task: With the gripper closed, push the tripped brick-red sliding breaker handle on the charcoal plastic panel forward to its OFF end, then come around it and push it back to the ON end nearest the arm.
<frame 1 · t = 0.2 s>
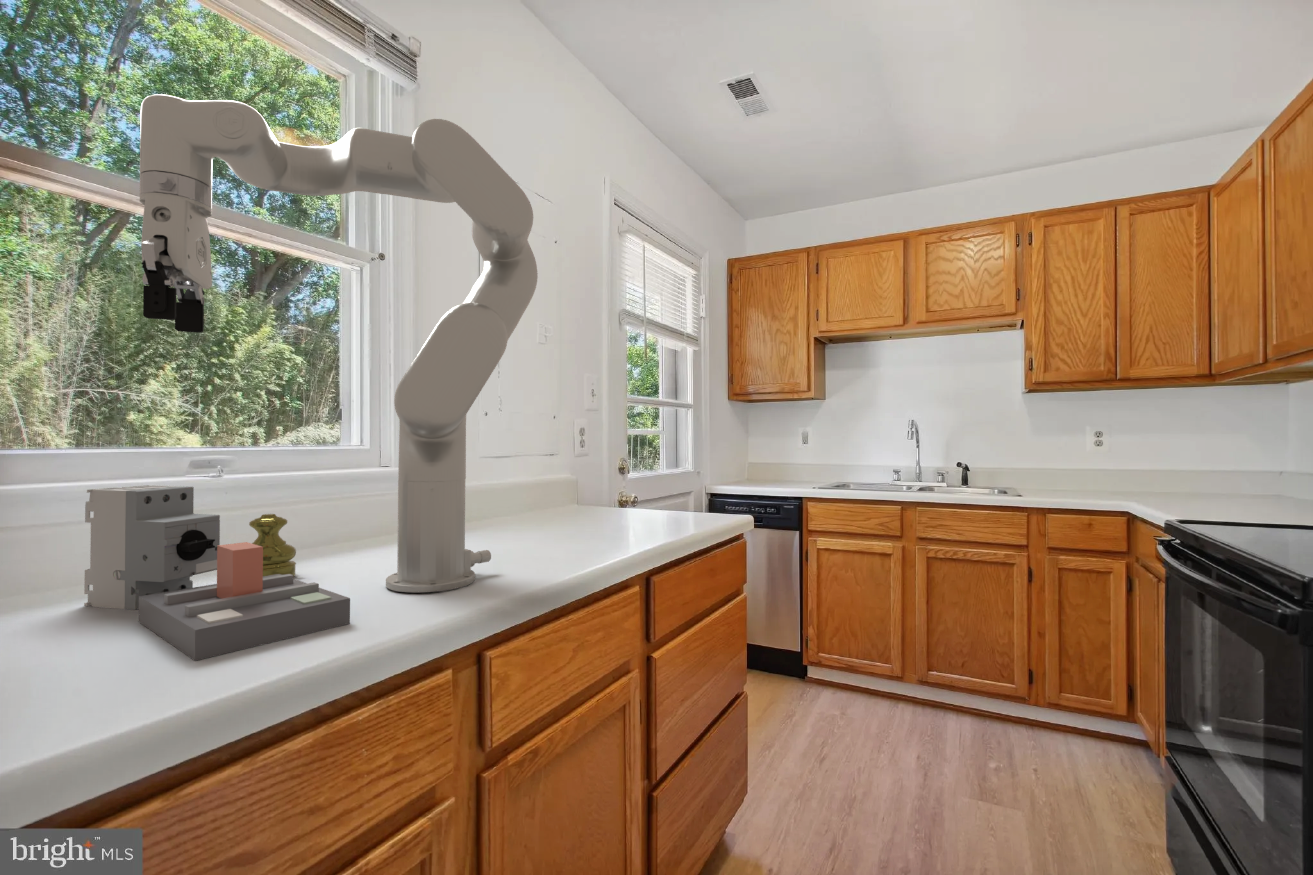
hand: (175, 325, 79), 37 cm above the worktop, tool pointing down, fingers open, 9 cm apart
brass knob: (268, 580, 92), on the worktop
breaker handle: (239, 571, 70), point 6 cm above the worktop, slide at 5.0 cm
breaker panel: (244, 622, 70), on the worktop
circuit breaker: (158, 603, 79), on the worktop
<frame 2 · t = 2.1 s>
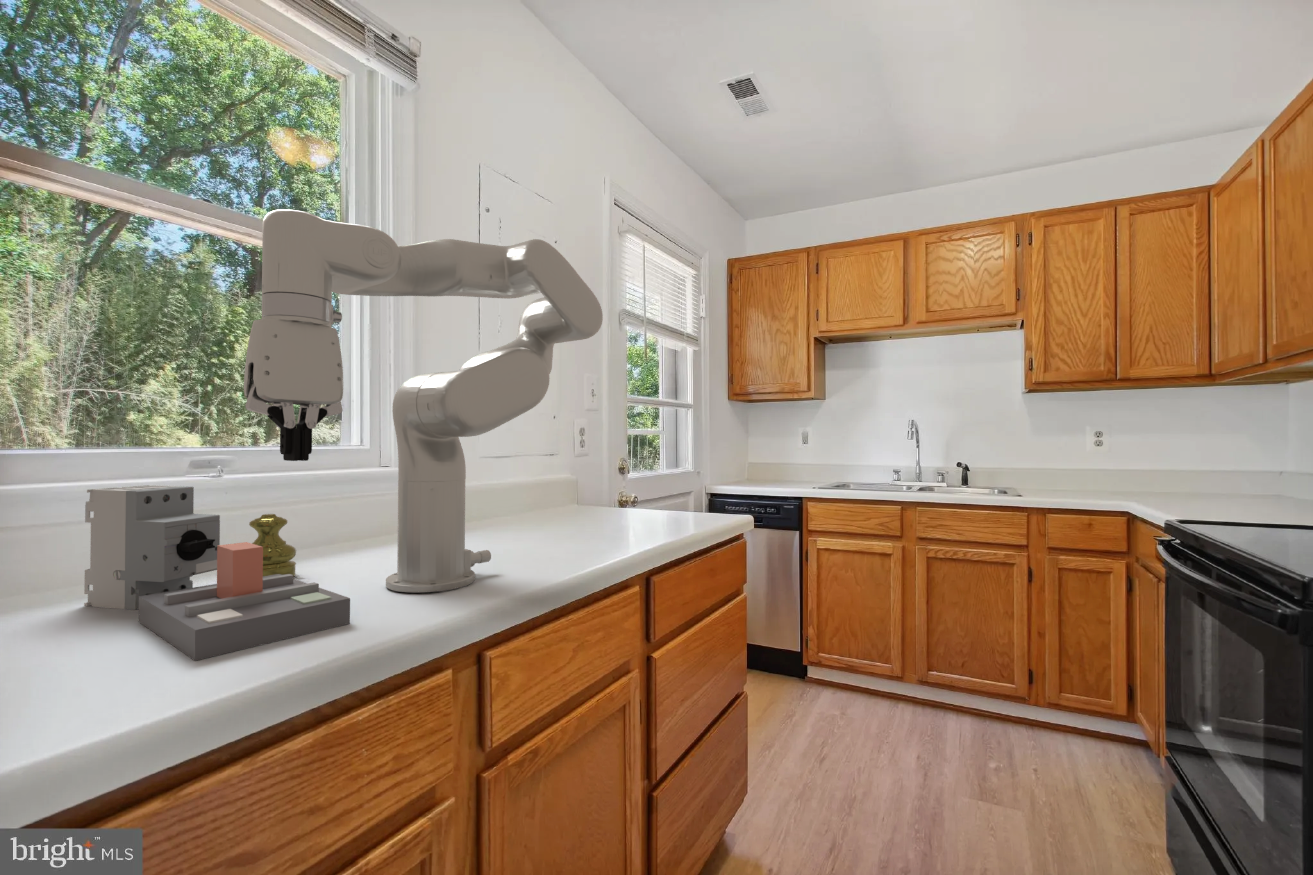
hand: (295, 460, 75), 19 cm above the worktop, tool pointing down, fingers closed
nothing on the worktop moved.
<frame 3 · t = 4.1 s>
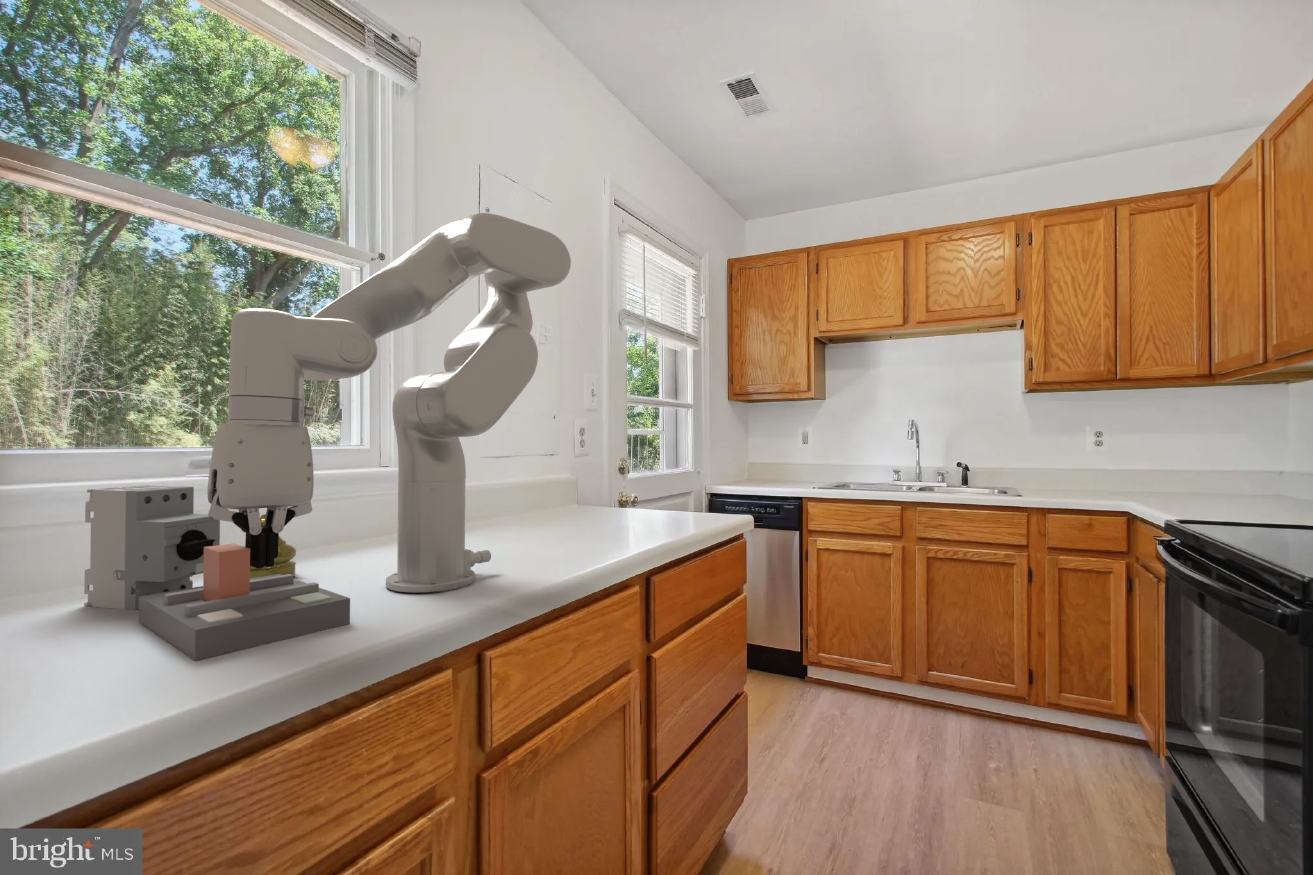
hand: (261, 565, 72), 6 cm above the worktop, tool pointing down, fingers closed
breaker handle: (226, 573, 69), point 6 cm above the worktop, slide at 6.3 cm, touching gripper
everything else where it was.
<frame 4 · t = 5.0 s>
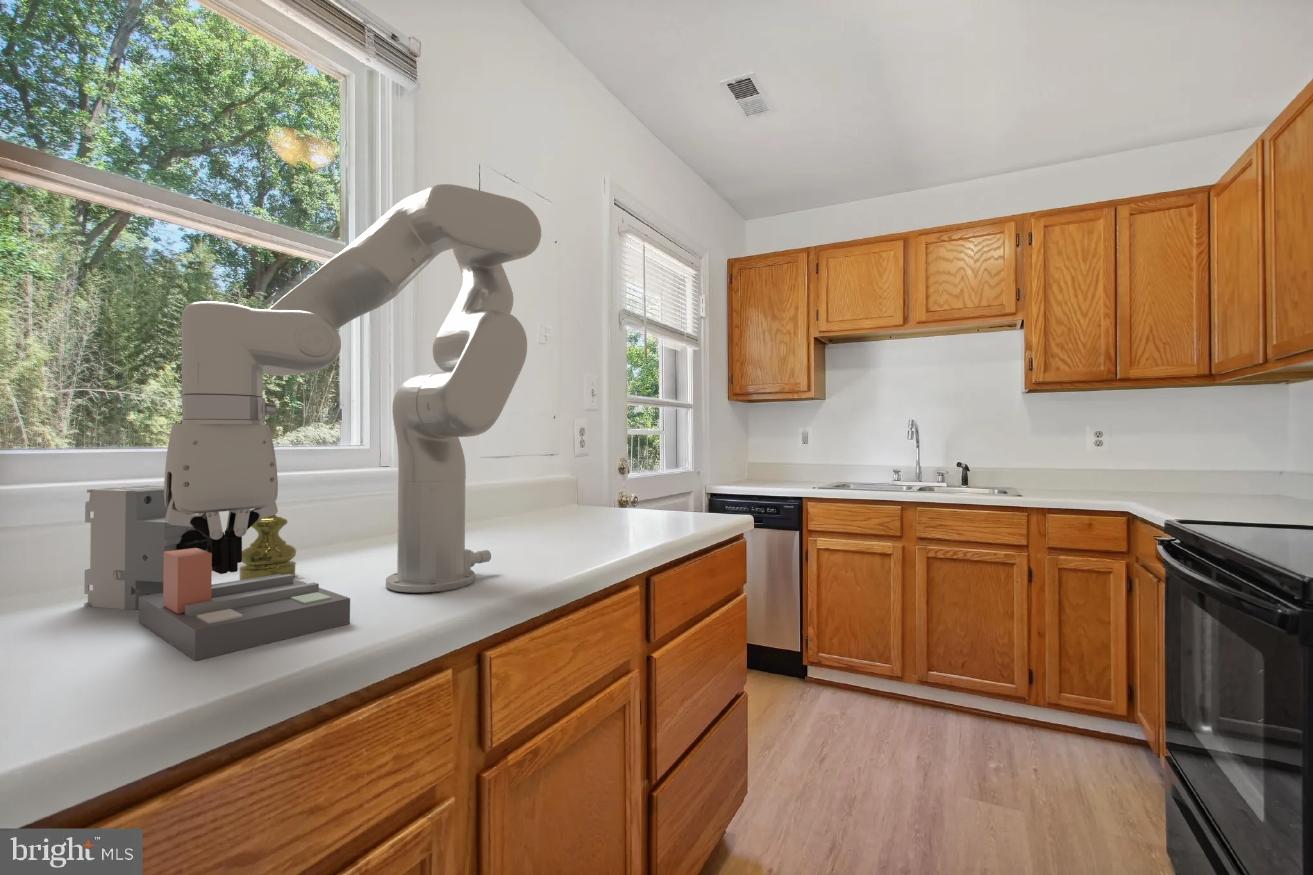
hand: (224, 570, 69), 6 cm above the worktop, tool pointing down, fingers closed
breaker handle: (187, 579, 66), point 6 cm above the worktop, slide at 10.0 cm, touching gripper
everything else where it was.
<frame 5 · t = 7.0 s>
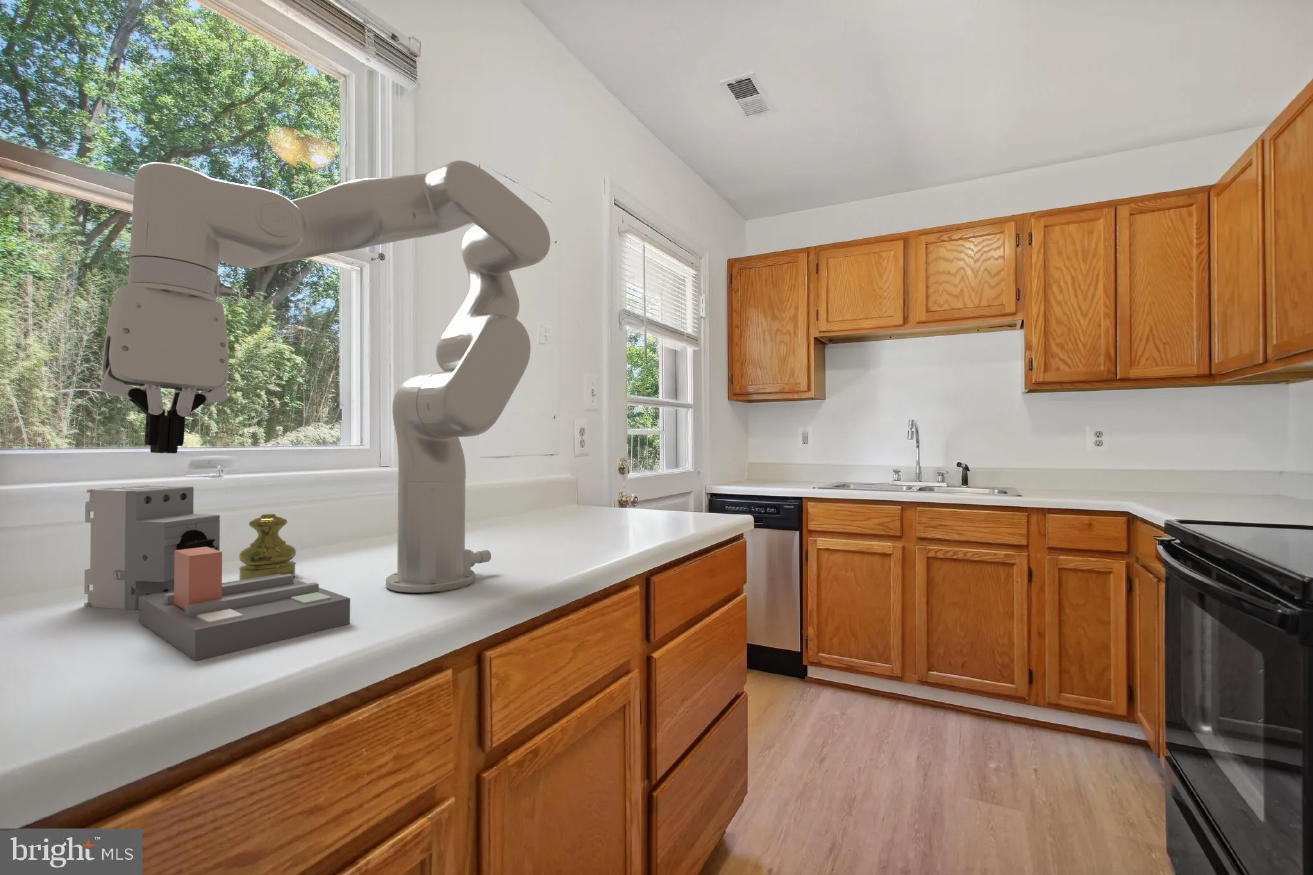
hand: (163, 452, 64), 20 cm above the worktop, tool pointing down, fingers closed
breaker handle: (197, 577, 67), point 6 cm above the worktop, slide at 9.0 cm
everything else where it was.
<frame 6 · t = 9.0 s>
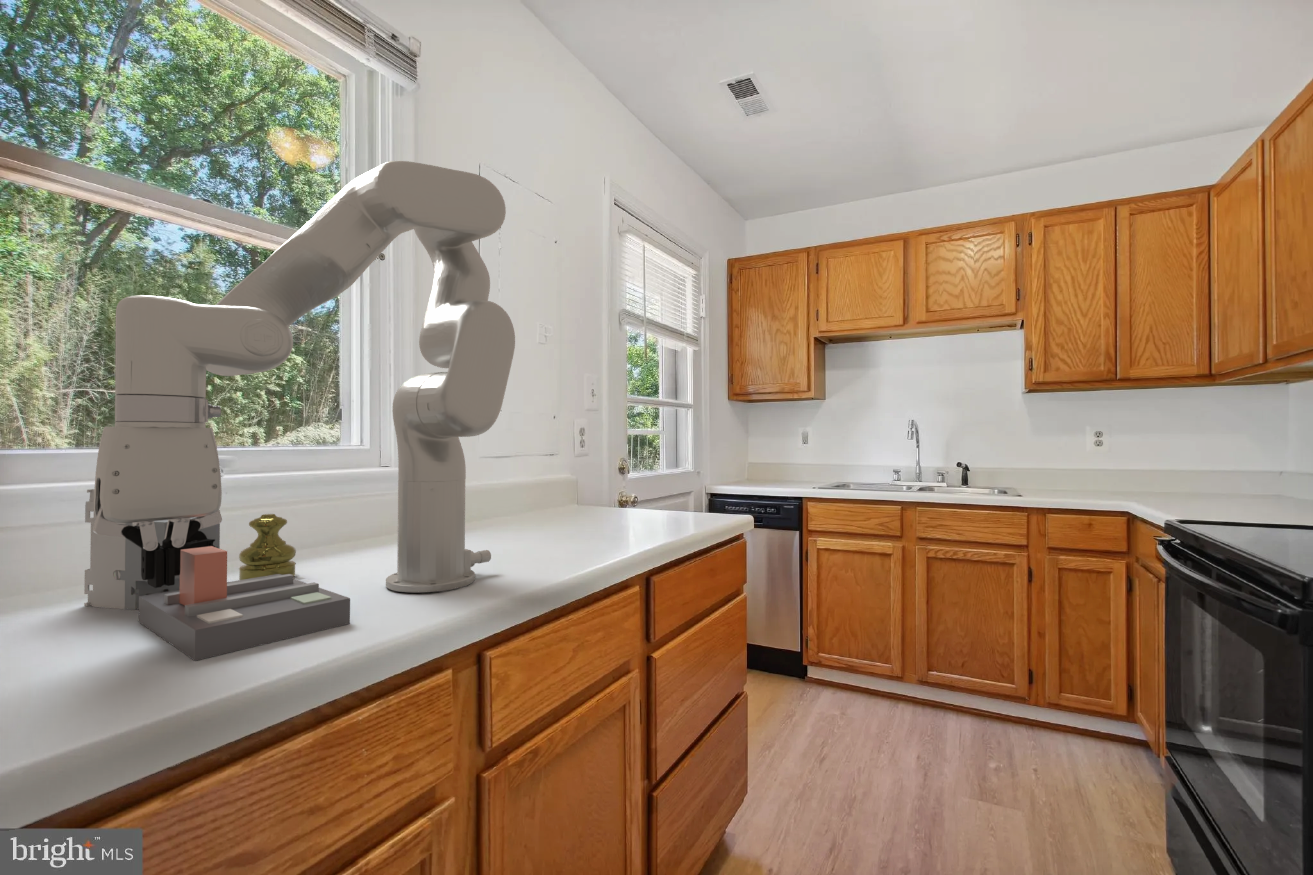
hand: (160, 584, 64), 6 cm above the worktop, tool pointing down, fingers closed
breaker handle: (203, 577, 67), point 6 cm above the worktop, slide at 8.5 cm, touching gripper
everything else where it was.
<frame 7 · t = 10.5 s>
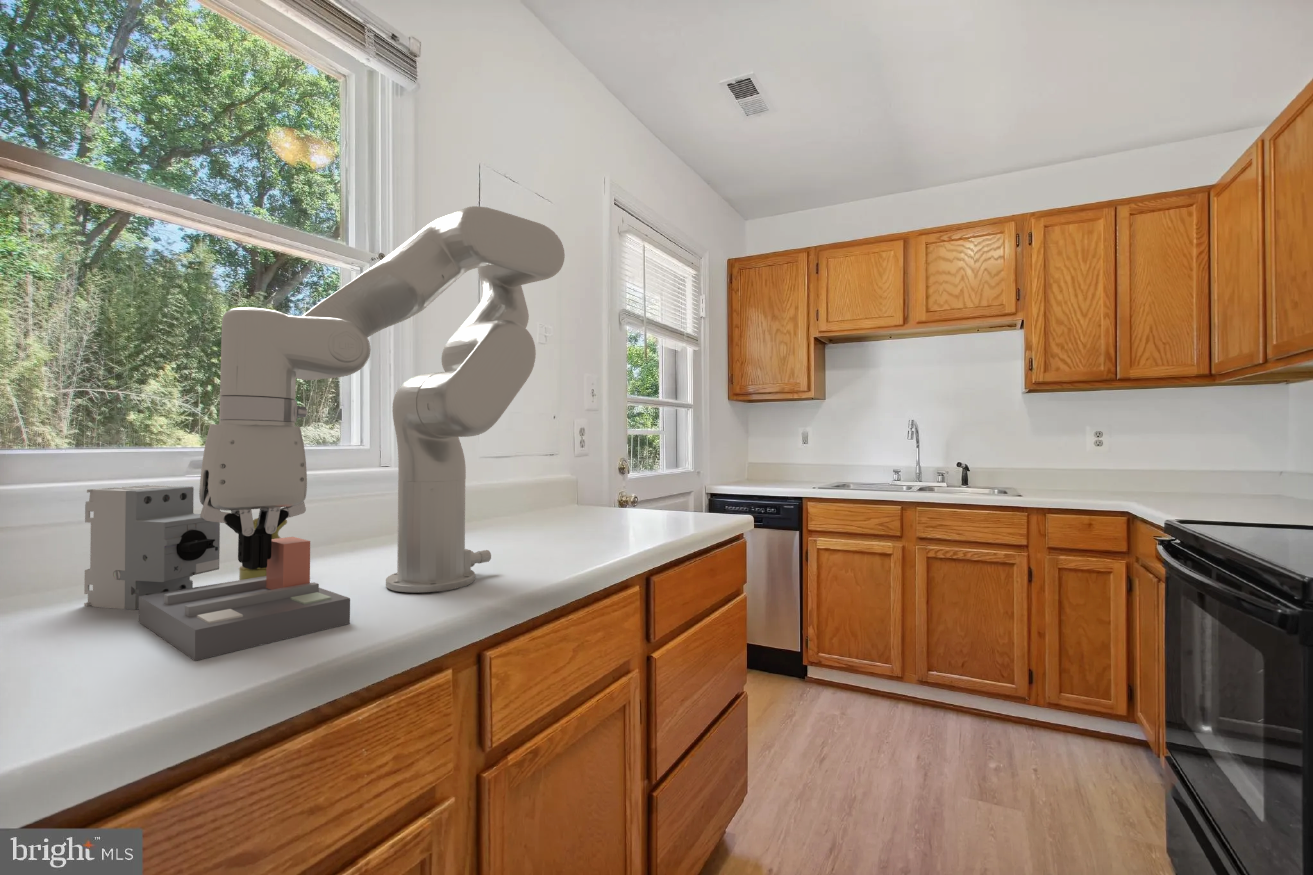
hand: (254, 566, 71), 6 cm above the worktop, tool pointing down, fingers closed
breaker handle: (288, 564, 74), point 6 cm above the worktop, slide at -0.2 cm, touching gripper
everything else where it was.
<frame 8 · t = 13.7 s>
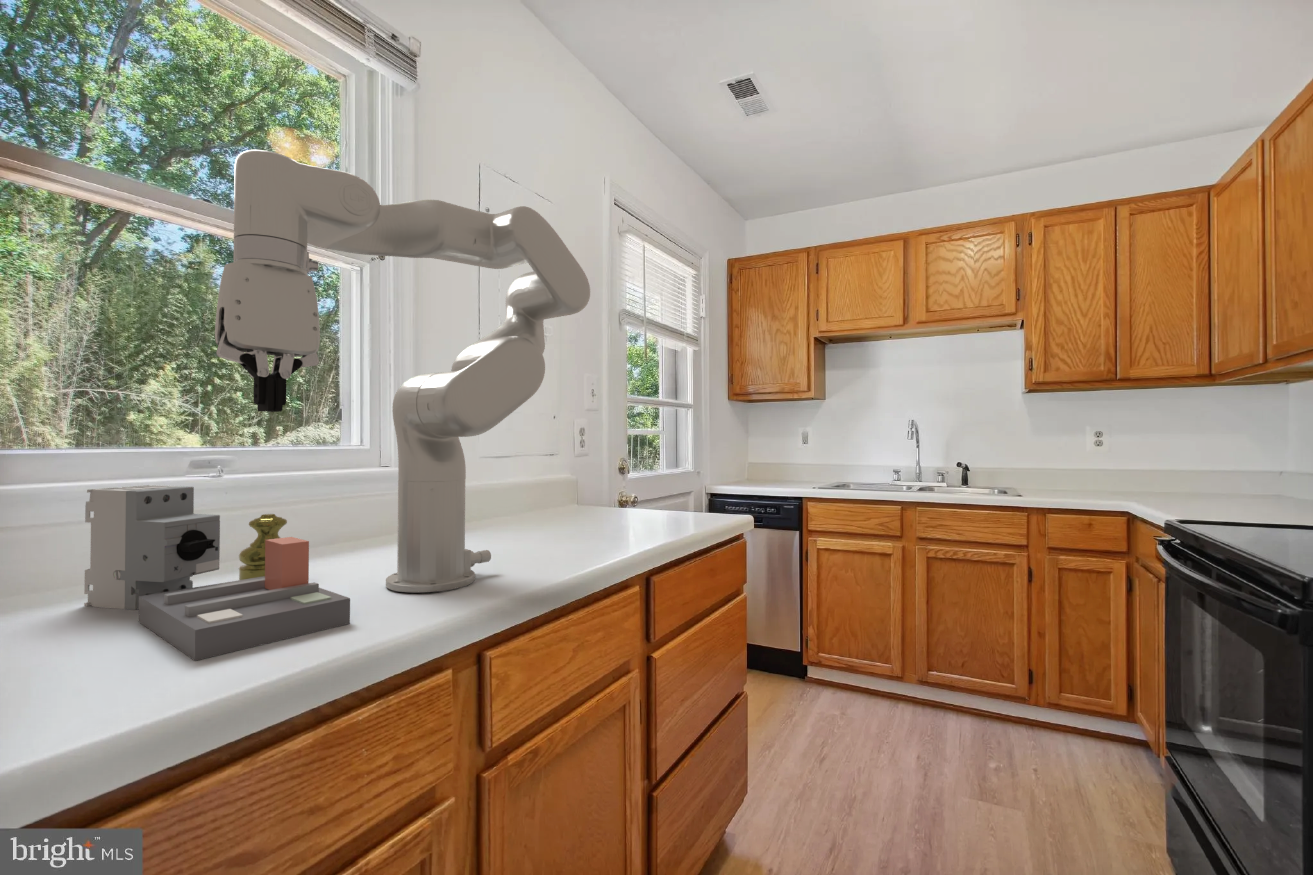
hand: (269, 411, 72), 25 cm above the worktop, tool pointing down, fingers closed
breaker handle: (286, 564, 74), point 6 cm above the worktop, slide at 0.0 cm
everything else where it was.
at the end: breaker handle slide at 0.0 cm; circuit breaker moved 0.2 cm from its start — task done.
